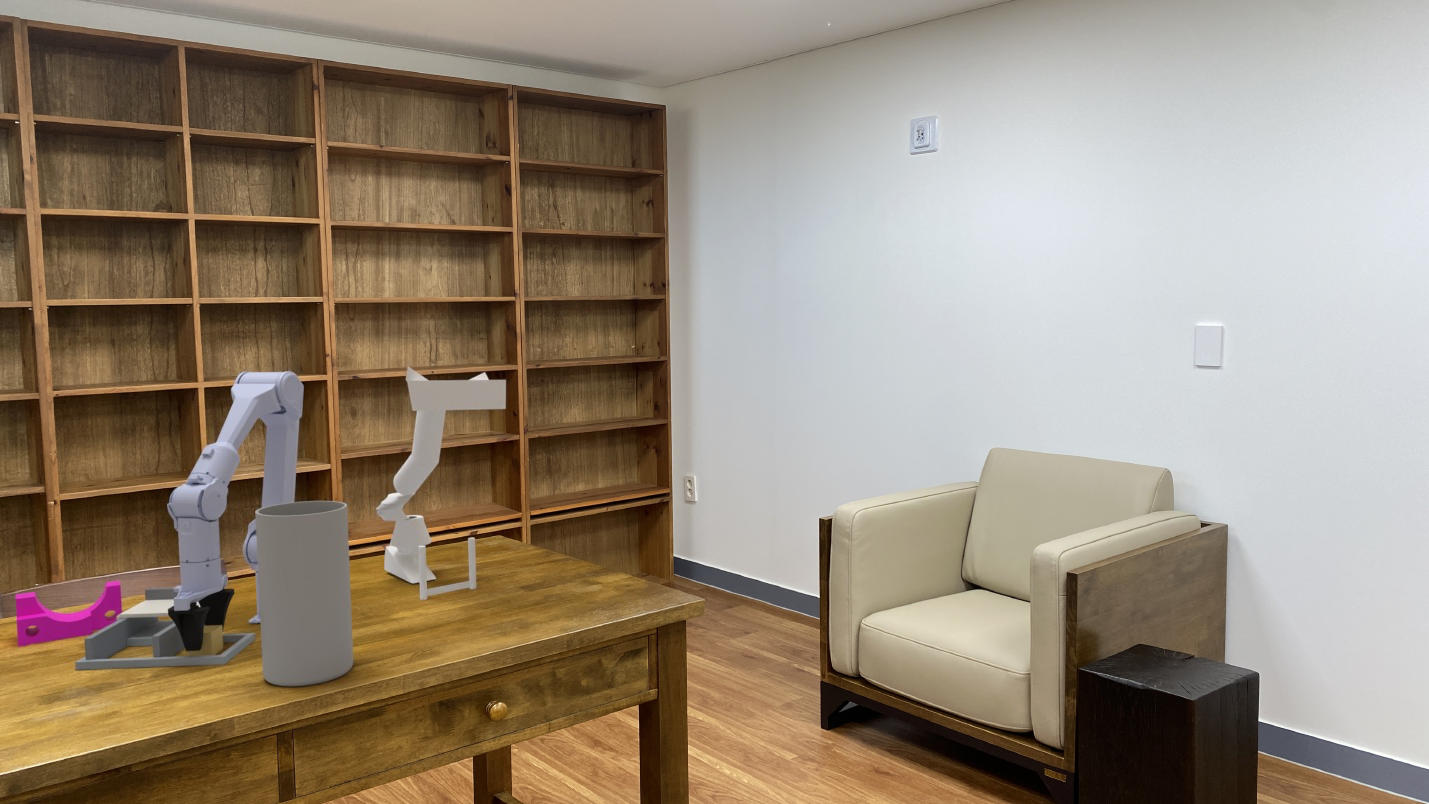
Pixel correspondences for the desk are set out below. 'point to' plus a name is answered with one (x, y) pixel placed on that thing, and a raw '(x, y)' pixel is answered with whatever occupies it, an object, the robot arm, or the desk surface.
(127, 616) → the cover
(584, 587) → the desk surface
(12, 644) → the desk surface
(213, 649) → the block
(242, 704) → the desk surface
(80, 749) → the desk surface
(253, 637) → the gray square frame
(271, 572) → the cylinder vase
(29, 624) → the toy block
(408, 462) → the desk lamp
